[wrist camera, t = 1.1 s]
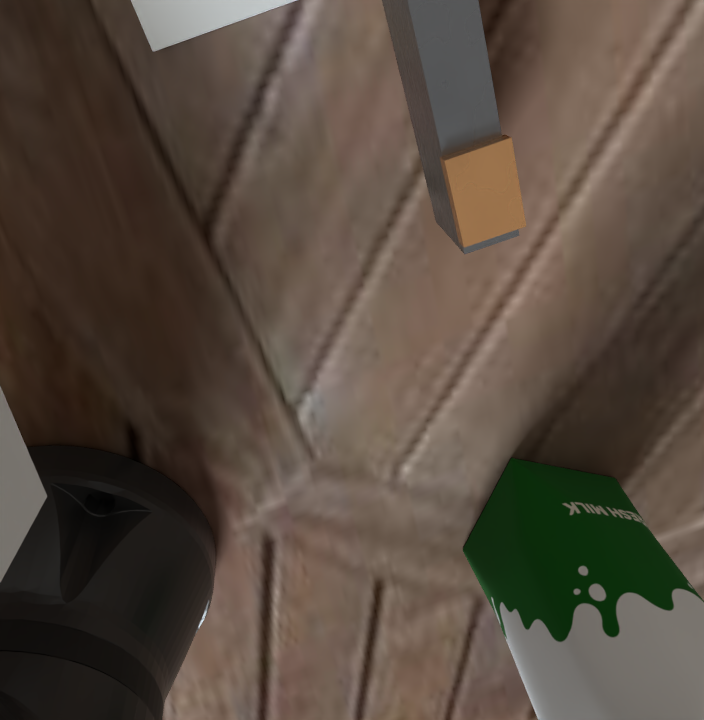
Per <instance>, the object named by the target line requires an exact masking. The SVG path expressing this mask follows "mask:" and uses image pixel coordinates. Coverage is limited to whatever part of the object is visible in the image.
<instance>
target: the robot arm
mask: <svg viewBox="0 0 704 720" xmlns="http://www.w3.org/2000/svg"><path fill="white" fill-rule="evenodd" d="M215 564H216V549H215V542H214V537H213V534H212V531H211V529H210V526H209V524H208V522H207V520H206V518H205V516H204V515H203V513H202V511H201V510H200V508H199V507H198V506H197V505H196V503H195V502H194V501H193V500H192V499H191V498H190V497H189V496H188V494H186V493H185V492H184V491H183V490H182V489H181V488H180V487H179V486H177V485H176V484H175V483H174V482H172V481H171V480H169V479H168V478H167V477H165V476H164V475H162V474H160V473H158V472H157V471H155V470H153V469H151V468H149V467H147V466H145V465H143V464H141V463H139V462H136V461H134V460H131V459H129V458H126V457H123V456H120V455H116V454H113V453H109V452H105V451H101V450H96V449H90V448H83V447H74V446H36V447H27V448H26V445H25V443H24V441H23V438H22V436H21V434H20V431H19V429H18V427H17V424H16V422H15V419H14V417H13V415H12V412H11V410H10V408H9V405H8V403H7V401H6V398H5V396H4V394H3V391H2V389H1V387H0V720H162V715H163V709H164V703H165V699H166V697H167V695H168V693H169V691H170V689H171V687H172V684H173V682H174V680H175V678H176V676H177V674H178V672H179V670H180V667H181V665H182V663H183V661H184V659H185V657H186V654H187V652H188V650H189V648H190V645H191V643H192V641H193V638H194V636H195V634H196V633H197V631H198V629H199V628H200V626H201V624H202V623H203V621H204V619H205V617H206V615H207V612H208V609H209V606H210V603H211V599H212V595H213V588H214V576H215Z"/></svg>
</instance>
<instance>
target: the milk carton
mask: <svg viewBox="0 0 704 720" xmlns="http://www.w3.org/2000/svg"><path fill="white" fill-rule="evenodd" d="M463 552H464V554H465V556H466V558H467V560H468V561H469V563H470V565H471V567H472V569H473V571H474V573H475V575H476V577H477V579H478V581H479V583H480V585H481V587H482V589H483V590H484V592H485V594H486V596H487V598H488V600H489V602H490V604H491V606H492V608H493V610H494V612H495V614H496V616H497V618H498V621H499V623H500V626H501V628H502V631H503V633H504V635H505V638H506V640H507V643H508V645H509V648H510V650H511V653H512V655H513V658H514V660H515V663H516V665H517V668H518V670H519V673H520V675H521V678H522V680H523V683H524V685H525V688H526V690H527V693H528V695H529V698H530V700H531V703H532V705H533V708H534V710H535V713H536V715H537V718H538V720H704V601H703V600H702V598H701V597H700V596H699V594H698V593H697V592H696V591H695V589H694V588H693V587H692V585H691V584H690V583H689V581H688V580H687V579H686V578H685V576H684V575H683V574H682V572H681V571H680V570H679V568H678V567H677V566H676V564H675V563H674V562H673V561H672V559H671V558H670V557H669V555H668V554H667V553H666V551H665V550H664V549H663V547H662V546H661V545H660V543H659V542H658V541H657V540H656V538H655V537H654V535H653V534H652V533H651V531H650V530H649V528H648V527H647V525H646V524H645V522H644V521H643V519H642V518H641V516H640V515H639V513H638V512H637V510H636V509H635V507H634V506H633V504H632V503H631V501H630V500H629V498H628V497H627V495H626V494H625V492H624V491H623V489H622V488H621V486H620V485H619V483H618V482H617V480H616V479H615V478H612V477H607V476H602V475H597V474H592V473H587V472H581V471H576V470H571V469H566V468H561V467H556V466H550V465H545V464H540V463H535V462H530V461H524V460H519V459H514V458H511V459H510V461H509V463H508V465H507V467H506V469H505V471H504V472H503V474H502V476H501V478H500V480H499V482H498V484H497V486H496V488H495V489H494V491H493V493H492V495H491V497H490V499H489V501H488V503H487V505H486V506H485V508H484V510H483V512H482V514H481V516H480V518H479V520H478V522H477V523H476V525H475V527H474V529H473V531H472V533H471V535H470V537H469V539H468V540H467V542H466V544H465V546H464V548H463Z"/></svg>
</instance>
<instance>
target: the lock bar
mask: <svg viewBox="0 0 704 720" xmlns="http://www.w3.org/2000/svg"><path fill="white" fill-rule="evenodd" d="M382 2H383V6H384V10H385V14H386V19H387V23H388V27H389V31H390V35H391V39H392V43H393V47H394V51H395V55H396V60H397V64H398V68H399V72H400V76H401V80H402V84H403V88H404V92H405V97H406V101H407V105H408V109H409V113H410V117H411V121H412V125H413V129H414V133H415V138H416V142H417V146H418V150H419V154H420V158H421V162H422V166H423V170H424V174H425V179H426V183H427V187H428V191H429V195H430V199H431V203H432V207H433V211H434V215H435V220H436V222H437V223H438V225H439V226H440V227H441V228H442V229H443V230H444V231H445V233H446V234H447V235H448V236H449V237H450V238H451V239H452V240H453V242H454V243H455V244H456V245H457V246H458V247H459V248H460V249H461V251H462V252H463V253H464V254H467V253H470V252H473V251H475V250H478V249H481V248H484V247H487V246H490V245H493V244H496V243H499V242H502V241H505V240H508V239H511V238H513V237H516V236H519V231H518V229H520V228H523V227H526V222H525V216H524V210H523V204H522V198H521V192H520V186H519V180H518V174H517V168H516V162H515V156H514V150H513V144H512V138H511V137H509V136H507V135H502V134H501V128H500V122H499V116H498V111H497V105H496V99H495V93H494V87H493V82H492V76H491V70H490V64H489V59H488V53H487V47H486V41H485V36H484V30H483V24H482V18H481V13H480V7H479V1H478V0H382Z"/></svg>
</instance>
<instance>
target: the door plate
mask: <svg viewBox="0 0 704 720" xmlns="http://www.w3.org/2000/svg"><path fill="white" fill-rule="evenodd" d="M294 1H297V0H131V2H132V4H133V7H134V9H135V11H136V14H137V16H138V18H139V21H140V23H141V25H142V28H143V30H144V32H145V35H146V37H147V39H148V42H149V44H150V46H151V49H152V51H153V52H154V51H157V50H160V49H163V48H166V47H169V46H172V45H174V44H177V43H180V42H183V41H185V40H188V39H191V38H194V37H197V36H199V35H202V34H205V33H208V32H210V31H213V30H216V29H219V28H222V27H224V26H227V25H230V24H233V23H235V22H238V21H241V20H244V19H247V18H249V17H252V16H255V15H258V14H260V13H263V12H266V11H269V10H272V9H274V8H277V7H280V6H283V5H285V4H288V3H291V2H294Z"/></svg>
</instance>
